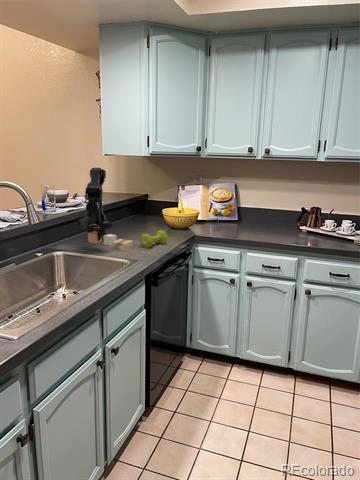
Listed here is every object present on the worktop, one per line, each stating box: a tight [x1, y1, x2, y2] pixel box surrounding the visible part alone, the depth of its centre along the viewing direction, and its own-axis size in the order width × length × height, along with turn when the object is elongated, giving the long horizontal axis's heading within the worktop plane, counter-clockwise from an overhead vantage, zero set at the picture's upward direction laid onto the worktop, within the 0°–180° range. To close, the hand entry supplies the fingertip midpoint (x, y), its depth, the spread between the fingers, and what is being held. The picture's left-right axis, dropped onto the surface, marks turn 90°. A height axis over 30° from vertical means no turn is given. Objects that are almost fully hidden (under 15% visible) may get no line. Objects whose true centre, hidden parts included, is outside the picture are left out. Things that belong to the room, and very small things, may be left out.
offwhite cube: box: [103, 233, 118, 247], centre depth 211 cm, size 5×5×5 cm
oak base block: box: [111, 238, 134, 252], centre depth 203 cm, size 8×8×4 cm
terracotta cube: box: [87, 231, 103, 244], centre depth 198 cm, size 5×5×5 cm
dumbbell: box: [139, 230, 168, 249], centre depth 211 cm, size 16×8×7 cm, turn 142°
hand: (95, 239), depth 199 cm, fingers closed on terracotta cube, 5 cm apart
